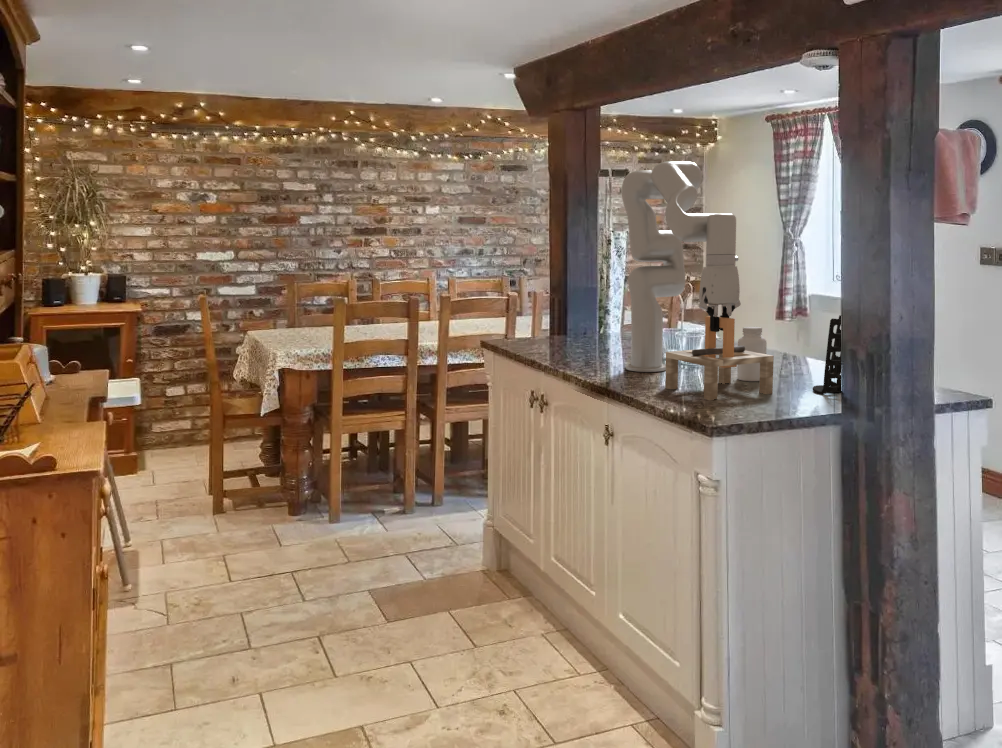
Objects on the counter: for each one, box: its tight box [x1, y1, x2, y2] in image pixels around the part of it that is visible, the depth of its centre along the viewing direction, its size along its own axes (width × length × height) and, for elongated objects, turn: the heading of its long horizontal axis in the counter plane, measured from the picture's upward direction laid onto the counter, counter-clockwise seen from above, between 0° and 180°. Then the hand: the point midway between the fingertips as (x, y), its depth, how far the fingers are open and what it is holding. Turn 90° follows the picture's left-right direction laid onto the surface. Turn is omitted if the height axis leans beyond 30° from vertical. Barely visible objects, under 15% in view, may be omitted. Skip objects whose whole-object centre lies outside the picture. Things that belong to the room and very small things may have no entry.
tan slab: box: [704, 315, 737, 368], centre depth 247 cm, size 4×10×13 cm, turn 23°
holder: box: [812, 314, 842, 396], centre depth 244 cm, size 11×8×20 cm
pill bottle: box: [736, 326, 767, 382], centre depth 265 cm, size 8×8×15 cm
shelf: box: [664, 345, 774, 401], centre depth 249 cm, size 20×20×12 cm
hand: (719, 330), depth 247 cm, fingers closed on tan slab, 2 cm apart
